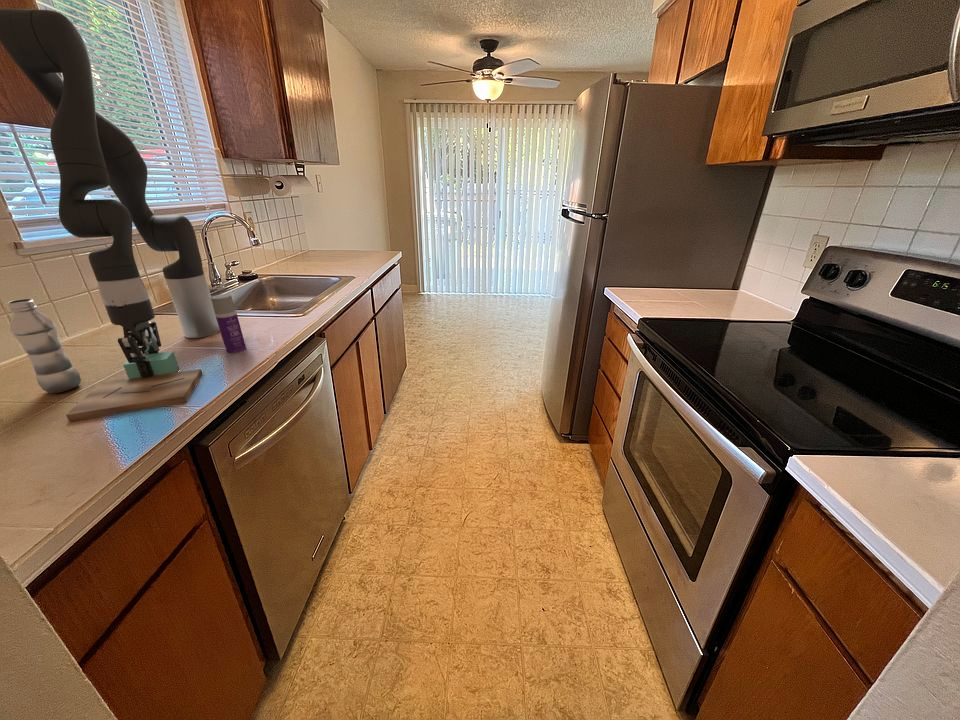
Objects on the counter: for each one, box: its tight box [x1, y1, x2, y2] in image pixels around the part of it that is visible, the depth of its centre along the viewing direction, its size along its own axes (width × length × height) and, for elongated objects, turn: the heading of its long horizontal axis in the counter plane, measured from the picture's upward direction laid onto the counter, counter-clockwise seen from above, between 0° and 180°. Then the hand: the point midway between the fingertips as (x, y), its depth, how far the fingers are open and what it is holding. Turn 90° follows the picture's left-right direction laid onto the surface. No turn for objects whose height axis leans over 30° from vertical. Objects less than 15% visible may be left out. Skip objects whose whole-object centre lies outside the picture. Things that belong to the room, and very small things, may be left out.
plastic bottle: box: [7, 298, 82, 394], centre depth 83 cm, size 6×7×20 cm
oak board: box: [65, 368, 204, 422], centre depth 84 cm, size 14×19×2 cm
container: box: [211, 293, 247, 356], centre depth 103 cm, size 5×5×15 cm
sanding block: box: [123, 350, 181, 379], centre depth 91 cm, size 5×8×5 cm, turn 110°
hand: (152, 371), depth 92 cm, fingers closed on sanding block, 5 cm apart
